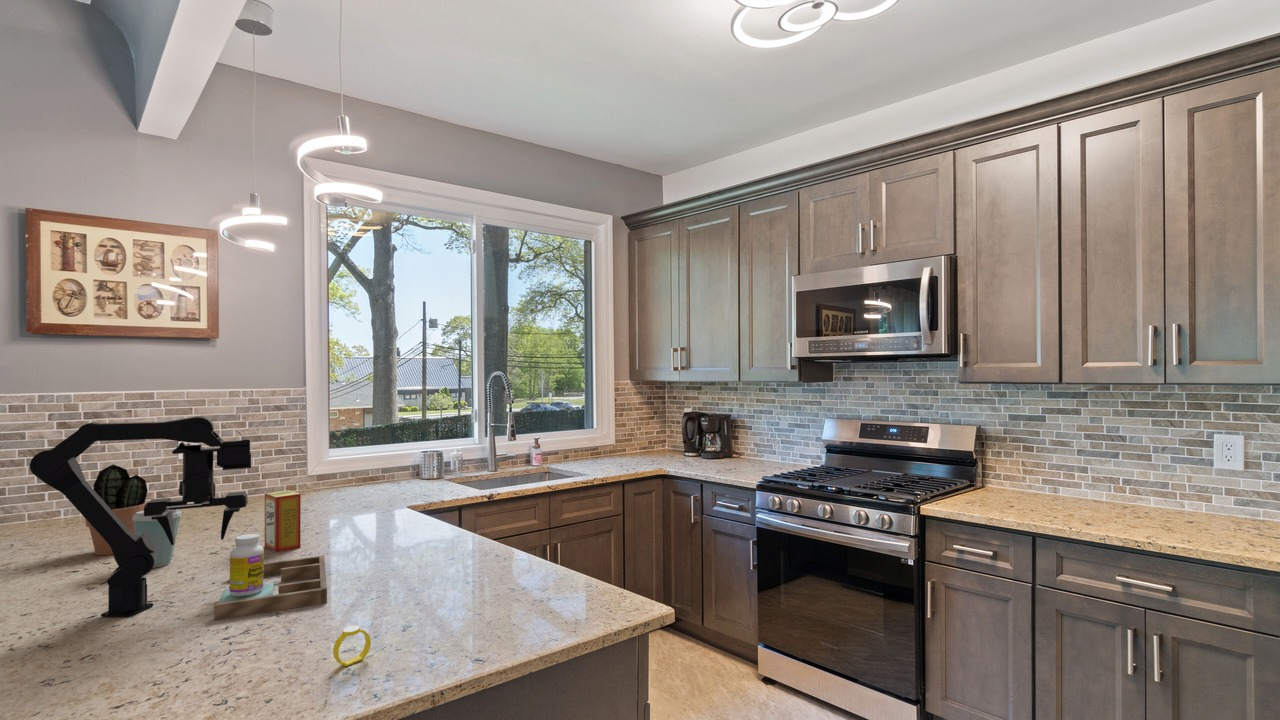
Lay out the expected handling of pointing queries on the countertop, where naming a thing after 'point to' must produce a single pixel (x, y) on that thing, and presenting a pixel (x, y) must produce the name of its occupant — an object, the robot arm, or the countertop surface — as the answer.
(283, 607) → the wooden compartment box
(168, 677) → the countertop surface
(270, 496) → the baking soda box
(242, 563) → the supplement bottle
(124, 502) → the potted plant
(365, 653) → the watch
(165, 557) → the disposable coffee cup
